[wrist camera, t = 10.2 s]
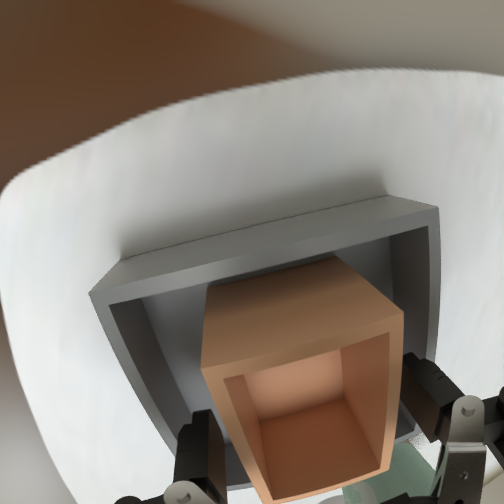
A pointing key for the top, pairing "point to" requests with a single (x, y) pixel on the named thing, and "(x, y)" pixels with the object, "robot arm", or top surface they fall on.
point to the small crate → (305, 376)
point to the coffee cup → (394, 478)
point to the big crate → (252, 264)
